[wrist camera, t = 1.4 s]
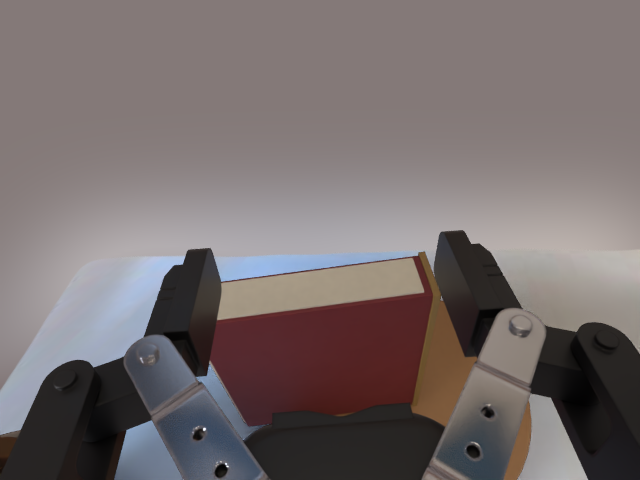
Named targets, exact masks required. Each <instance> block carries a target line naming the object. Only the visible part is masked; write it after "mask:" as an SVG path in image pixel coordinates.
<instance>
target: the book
mask: <svg viewBox="0 0 640 480" xmlns="http://www.w3.org/2000/svg"><path fill="white" fill-rule="evenodd" d="M221 287H222V293H221V300H220V306H219V311H218V317H217V322H216V328H215V333H214V339H213V345H212V350H211V356H210V361H209V363H210V365H211V367H212V368H213V370H214V372H215V373H216V375H217V377H218V379H219V380H220V382H221V384H222V385H223V387H224V389H225V391H226V392H227V394H228V396H229V397H230V399H231V401H232V402H233V404H234V406H235V408H236V409H237V411H238V413H239V414H240V416H241V418H242V420H243V421H244V423H246V424H247V425H248V426H249V427H250V426H257V425H264V424H272V413H278V412H291V411H304V410H307V411H313V412H318V413H324V414H329V415H335V416H346V415H349V414H352V413H355V412H357V411H360V410H363V409H366V408H369V407H372V406H375V405H383V404H396V403H409V402H410V405H411V409H412V413H416V414H420V415H423V416H426V417H429V418H431V419H433V420H435V421H437V422H439V423H440V424H442V425H443V426H445V427H446V425H447V423H448V420H449V418H450V416H451V414H452V412H453V409H454V407H455V405H456V403H457V400H458V398H459V396H460V394H461V391H462V389H463V387H464V385H465V382H466V380H467V378H468V376H469V373H470V371H471V369H472V367H473V365H474V363H475V362H476V361H477V357H465V356H464V353H463V351H462V348H461V345H460V343H459V340H458V338H457V335H456V332H455V330H454V327H453V324H452V322H451V319H450V316H449V314H448V311H447V309H446V306H445V303H444V301H441V300H440V299H441V293H440V290H439V288H438V285H437V283H436V280H435V277H434V275H433V272H432V270H431V267H430V264H429V262H428V259H427V257H426V254H425V252H419V253H418V256H413V257H405V258H397V259H390V260H382V261H375V262H367V263H360V264H352V265H345V266H337V267H330V268H322V269H314V270H307V271H299V272H292V273H284V274H277V275H269V276H262V277H254V278H247V279H239V280H231V281H224V282H221ZM530 439H531V413H530V405H529V400H528V403H527V406H526V409H525V412H524V416H523V419H522V422H521V425H520V429H519V432H518V435H517V438H516V441H515V445H514V448H513V451H512V454H511V457H510V461H509V464H508V467H507V470H506V474H505V477H504V480H517V479H518V477H519V475H520V473H521V471H522V469H523V466H524V463H525V460H526V458H527V455H528V450H529V445H530Z"/></svg>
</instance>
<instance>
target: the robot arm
mask: <svg viewBox="0 0 640 480" xmlns="http://www.w3.org/2000/svg"><path fill="white" fill-rule="evenodd" d="M434 274H435V279H436V282H437V285H438V287H439V290H440V293H441V295H442V298H443V301H444V303H445V306H446V309H447V311H448V314H449V316H450V319H451V322H452V324H453V327H454V330H455V332H456V335H457V338H458V340H459V343H460V345H461V348H462V351H463V353H464V356H465V357H477V361H476V362H475V363H474V365H473V367H472V369H471V371H470V373H469V376H468V378H467V380H466V382H465V385H464V387H463V389H462V391H461V394H460V396H459V398H458V400H457V403H456V405H455V407H454V409H453V412H452V414H451V416H450V418H449V420H448V423H447V425H446V427H445V426H443V425H442V424H440V423H439V422H437V421H435V420H433V419H431V418H429V417H426V416H423V415H420V414H416V413H412V409H411V405H410V402H409V403H396V404H383V405H375V406H372V407H369V408H366V409H363V410H360V411H357V412H355V413H352V414H349V415H346V416H335V415H329V414H324V413H318V412H313V411H307V410H304V411H291V412H278V413H272V424H269V425H266V426H264V427H262V428H260V429H258V430H257V431H255V432H253V433H252V434H251V435H249V436H248V437H247V438H246V439H244V440H242V439H241V437H240V436H239V435H238V433H237V432H236V430H235V429H234V427H233V426H232V425H231V423H230V422H229V420H228V419H227V417H226V416H225V414H224V413H223V412H222V410H221V409H220V407H219V406H218V404H217V403H216V401H215V400H214V399H213V397H212V396H211V394H210V393H209V391H208V390H207V389H206V387H205V386H204V385H203V383H202V382H201V383H200V382H199V381H198V380H197V378H196V377H199V376H207V372H208V367H209V361H210V356H211V350H212V345H213V339H214V333H215V328H216V322H217V317H218V311H219V306H220V300H221V293H222V287H221V279H220V276H219V272H218V269H217V266H216V262H215V259H214V255H213V253H212V250H211V249H210V248H205V249H192V250H188V251H187V254H186V257H185V260H184V263H183V265H174V266H173V267H172V268H171V269H170V271H169V272H168V273H167V274H166V275H165V276H164V279H163V282H162V285H161V288H160V289H161V290H160V291H159V294H158V297H157V301H156V302H155V305H154V308H153V311H152V314H151V317H150V320H149V323H148V326H147V329H146V332H145V335H144V337H143V338H142V339H140V340H138V341H137V342H135V343H134V344H133V345H132V346H131V347H130V348H129V349H128V351H127V352H126V354H125V356H124V357H122V358H120V359H117V360H114V361H111V362H109V363H106V364H103V365H100V366H97V367H94V368H93V366H92V365H91V364H90V363H89V362H87V361H84V360H74V361H70V362H67V363H65V364H62V365H61V366H59V367H57V368H56V369H54V370H53V371H52V372H51V373H50V374H49V375H48V376H47V377H46V378H45V380H44V381H43V383H42V385H41V387H40V389H39V391H38V393H37V396H36V398H35V400H34V402H33V404H32V407H31V409H30V411H29V413H28V415H27V418H26V420H25V422H24V424H23V426H22V429H21V431H20V433H19V435H18V437H17V440H16V442H15V444H14V446H13V448H12V451H11V453H10V455H9V457H8V459H7V462H6V464H5V466H4V468H3V470H2V473H1V475H0V480H114V478H115V474H116V470H117V466H118V462H119V458H120V454H121V450H122V446H123V442H124V438H125V434H126V430H128V429H130V428H133V427H135V426H138V425H140V424H143V423H145V422H148V421H150V420H152V421H153V423H154V425H155V427H156V429H157V431H158V432H159V434H160V436H161V438H162V440H163V442H164V444H165V445H166V447H167V449H168V451H169V453H170V455H171V457H172V458H173V460H174V462H175V464H176V466H177V468H178V470H179V471H180V473H181V475H182V477H183V479H184V480H504V477H505V474H506V470H507V467H508V464H509V461H510V457H511V454H512V451H513V448H514V445H515V441H516V438H517V435H518V432H519V429H520V425H521V422H522V419H523V416H524V412H525V409H526V406H527V403H528V400H529V396H530V393H532V394H537V395H541V396H546V397H550V398H551V399H552V401H553V403H554V405H555V408H556V410H557V412H558V414H559V416H560V419H561V421H562V423H563V425H564V427H565V430H566V432H567V434H568V436H569V438H570V441H571V443H572V445H573V447H574V449H575V452H576V454H577V456H578V458H579V460H580V462H581V465H582V467H583V469H584V471H585V473H586V476H587V478H588V480H640V354H639V352H638V351H637V350H636V348H635V347H634V345H633V344H632V342H631V341H630V340H629V338H628V337H627V336H626V335H624V334H623V333H622V332H621V331H619V330H617V329H616V328H614V327H612V326H609V325H606V324H603V323H597V322H591V323H586V324H584V325H582V326H581V327H580V328H579V329H578V331H577V332H573V331H568V330H562V329H557V328H552V327H548V326H545V325H544V324H543V322H542V321H541V320H540V319H539V318H538V317H537V316H535V315H534V314H532V313H531V312H528V311H526V310H523V309H522V307H521V305H520V304H519V302H518V300H517V298H516V296H515V295H514V293H513V291H512V289H511V288H510V286H509V284H508V282H507V281H506V279H505V277H504V276H503V275H502V272H501V270H500V268H499V266H497V263H496V261H495V259H494V258H493V256H492V254H491V253H490V252H489V251H488V250H487V249H485V248H484V247H483V246H482V245H480V244H471V243H470V241H469V239H468V237H467V235H466V233H465V232H464V231H463V230H459V231H445V232H441V233H440V235H439V240H438V245H437V251H436V256H435V262H434Z"/></svg>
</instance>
